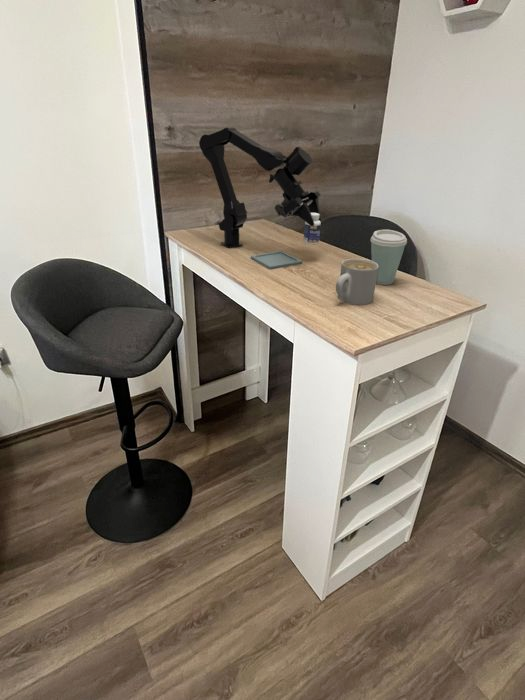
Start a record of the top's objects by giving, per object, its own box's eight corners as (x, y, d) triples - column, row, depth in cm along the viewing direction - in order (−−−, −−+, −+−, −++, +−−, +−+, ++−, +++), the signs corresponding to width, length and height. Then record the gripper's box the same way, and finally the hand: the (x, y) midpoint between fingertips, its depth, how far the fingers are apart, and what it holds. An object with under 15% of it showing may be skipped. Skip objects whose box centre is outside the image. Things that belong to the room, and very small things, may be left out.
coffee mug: (357, 289, 127) (362, 256, 121) (380, 301, 119) (386, 267, 114) (320, 296, 121) (324, 263, 116) (342, 310, 113) (347, 274, 108)
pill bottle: (308, 245, 142) (311, 216, 138) (300, 241, 147) (302, 212, 142) (322, 244, 145) (325, 214, 140) (313, 240, 149) (315, 211, 144)
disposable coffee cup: (406, 285, 130) (416, 236, 123) (377, 289, 126) (386, 239, 119) (385, 274, 139) (393, 227, 131) (357, 277, 135) (364, 230, 127)
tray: (250, 258, 149) (250, 255, 149) (281, 253, 155) (281, 250, 155) (269, 269, 140) (269, 266, 139) (301, 263, 146) (302, 260, 145)
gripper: (286, 196, 153) (311, 232, 154) (260, 205, 139) (287, 244, 140) (307, 175, 146) (334, 212, 147) (282, 182, 132) (311, 223, 133)
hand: (316, 223), depth 142 cm, fingers closed on pill bottle, 5 cm apart
